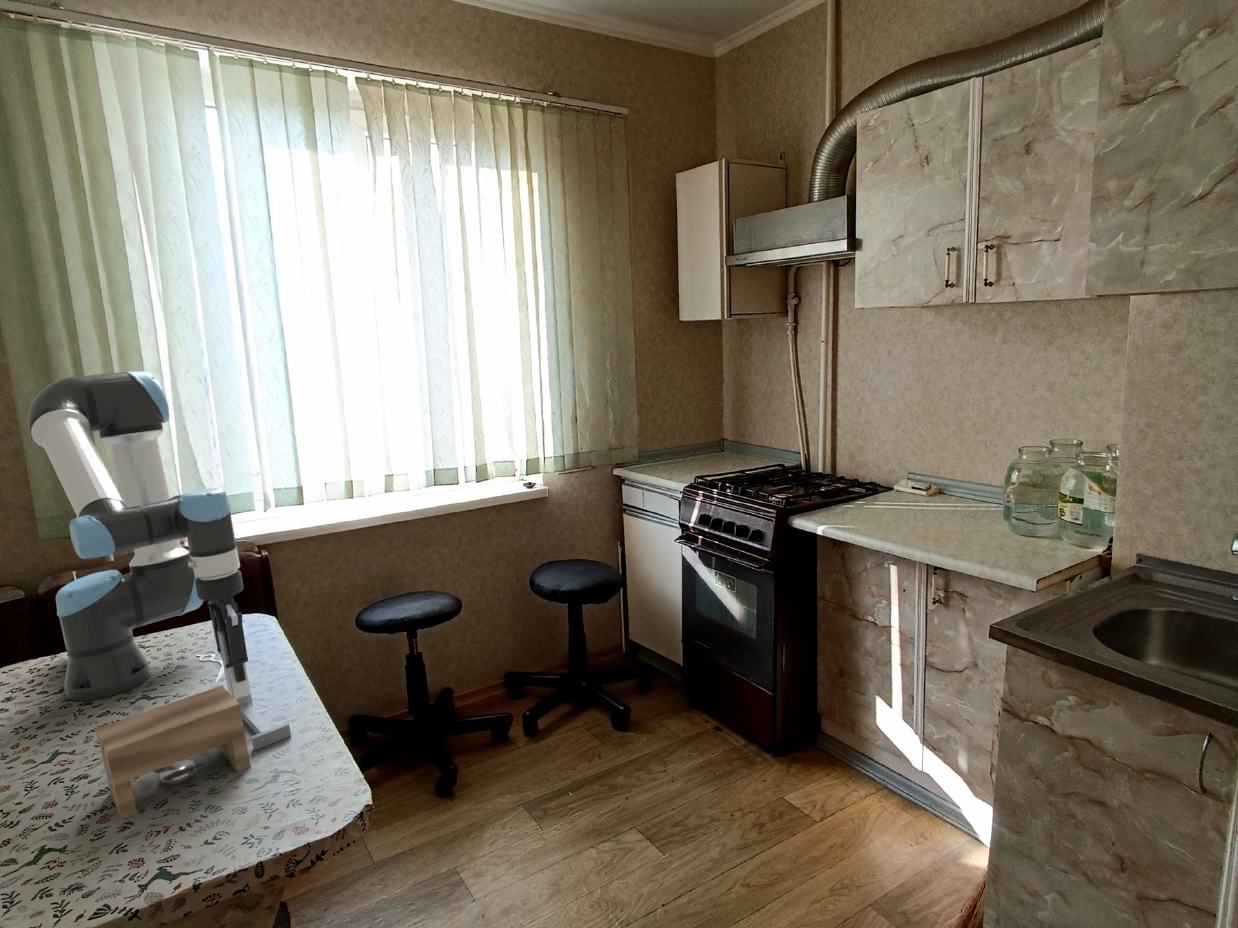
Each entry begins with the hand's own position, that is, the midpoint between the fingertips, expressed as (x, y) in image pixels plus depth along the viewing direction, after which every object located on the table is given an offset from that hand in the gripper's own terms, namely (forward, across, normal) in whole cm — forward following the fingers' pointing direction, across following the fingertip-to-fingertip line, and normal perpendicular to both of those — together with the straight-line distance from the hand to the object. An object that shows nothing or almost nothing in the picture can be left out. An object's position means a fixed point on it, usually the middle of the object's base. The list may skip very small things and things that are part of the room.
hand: (239, 692), depth 142 cm
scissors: (+5, -28, +4) cm, 28 cm away
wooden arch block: (+4, +17, -14) cm, 22 cm away
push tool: (+4, +8, 0) cm, 9 cm away
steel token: (+4, +15, -14) cm, 21 cm away
